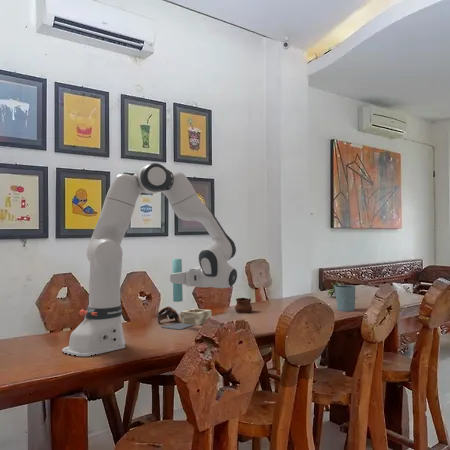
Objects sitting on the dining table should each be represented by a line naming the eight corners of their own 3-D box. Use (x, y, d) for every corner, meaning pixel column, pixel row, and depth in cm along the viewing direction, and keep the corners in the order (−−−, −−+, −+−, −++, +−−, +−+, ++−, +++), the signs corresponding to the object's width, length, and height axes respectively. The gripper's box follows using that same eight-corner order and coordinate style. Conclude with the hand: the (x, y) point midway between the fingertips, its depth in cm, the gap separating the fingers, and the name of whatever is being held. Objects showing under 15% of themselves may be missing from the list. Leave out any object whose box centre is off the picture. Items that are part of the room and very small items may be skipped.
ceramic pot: (261, 309, 235) (261, 295, 235) (261, 315, 218) (260, 301, 218) (227, 309, 237) (226, 296, 237) (224, 316, 219) (223, 302, 219)
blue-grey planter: (355, 312, 221) (354, 287, 221) (334, 311, 224) (333, 287, 224) (356, 308, 231) (355, 285, 231) (336, 307, 234) (335, 284, 234)
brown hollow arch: (180, 325, 199) (171, 310, 197) (162, 335, 200) (152, 319, 198) (183, 314, 211) (174, 299, 209) (165, 322, 212) (156, 308, 210)
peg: (178, 301, 192) (177, 259, 192) (171, 301, 194) (170, 259, 194) (184, 300, 195) (183, 259, 195) (177, 300, 197) (176, 258, 198)
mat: (179, 330, 187) (179, 329, 187) (161, 327, 193) (161, 326, 193) (194, 325, 196) (194, 324, 196) (176, 323, 201) (176, 322, 201)
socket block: (198, 325, 197) (198, 313, 197) (180, 322, 202) (180, 311, 202) (211, 321, 205) (211, 310, 205) (194, 319, 211) (194, 308, 211)
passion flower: (343, 306, 270) (354, 290, 266) (332, 305, 263) (343, 289, 259) (332, 294, 278) (342, 278, 274) (320, 292, 271) (331, 276, 267)
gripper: (215, 266, 196) (190, 266, 204) (186, 271, 179) (160, 270, 187) (215, 281, 196) (190, 280, 204) (186, 286, 179) (160, 285, 187)
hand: (175, 275), depth 195 cm, fingers closed on peg, 4 cm apart
